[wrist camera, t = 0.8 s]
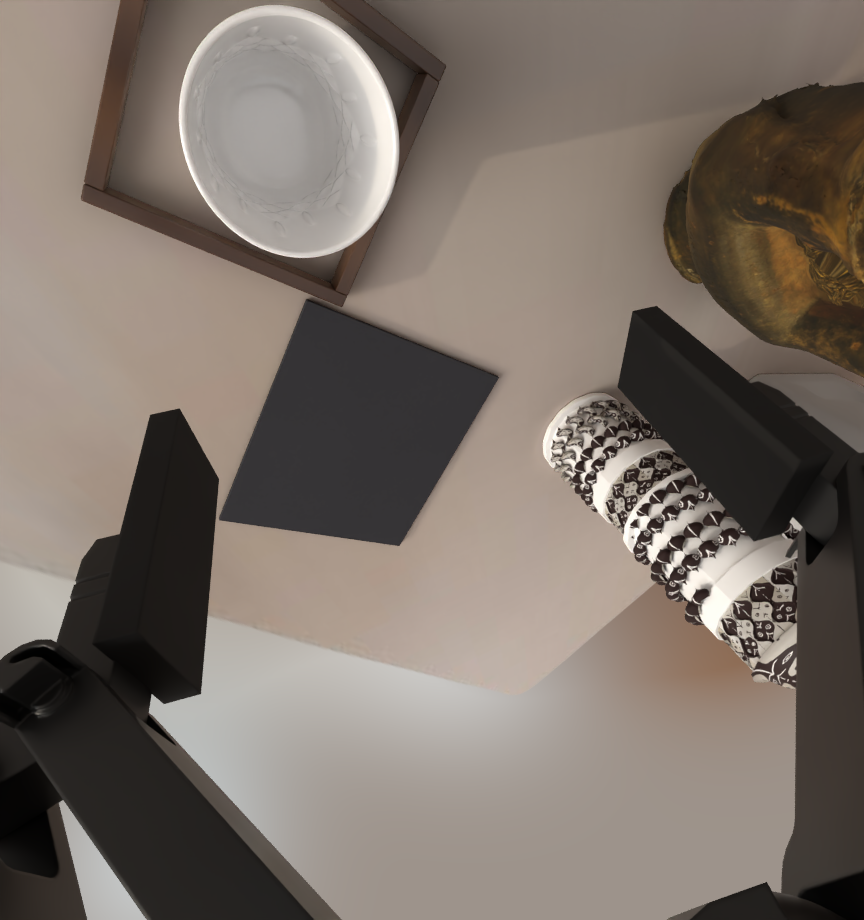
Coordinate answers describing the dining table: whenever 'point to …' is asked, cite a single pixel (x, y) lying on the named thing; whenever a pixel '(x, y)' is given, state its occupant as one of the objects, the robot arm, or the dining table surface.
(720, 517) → the decorative candle
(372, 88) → the white cup
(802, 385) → the white triangular vase
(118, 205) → the wooden frame
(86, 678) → the robot arm
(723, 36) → the dining table surface
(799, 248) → the pottery vessel
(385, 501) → the mat
